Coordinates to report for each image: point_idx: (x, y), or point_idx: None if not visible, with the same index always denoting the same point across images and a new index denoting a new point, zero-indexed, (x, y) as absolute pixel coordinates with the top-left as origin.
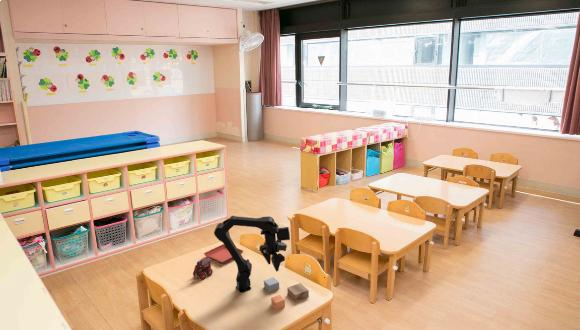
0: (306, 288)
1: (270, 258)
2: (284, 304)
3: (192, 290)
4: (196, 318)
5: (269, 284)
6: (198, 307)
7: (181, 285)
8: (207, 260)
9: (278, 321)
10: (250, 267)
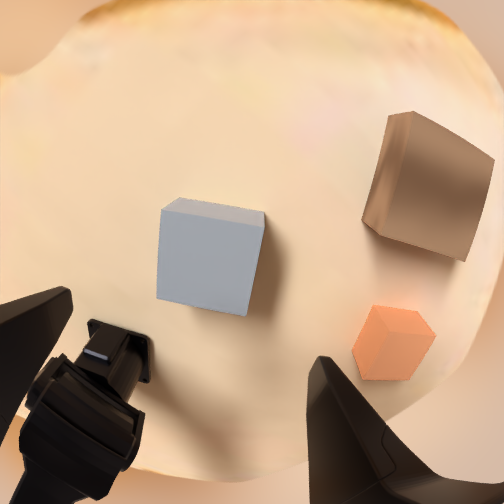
0: (479, 150)
1: (11, 322)
2: (421, 320)
3: None
4: (204, 479)
5: (233, 304)
6: (158, 462)
7: None
8: None
9: (435, 377)
10: (89, 447)
